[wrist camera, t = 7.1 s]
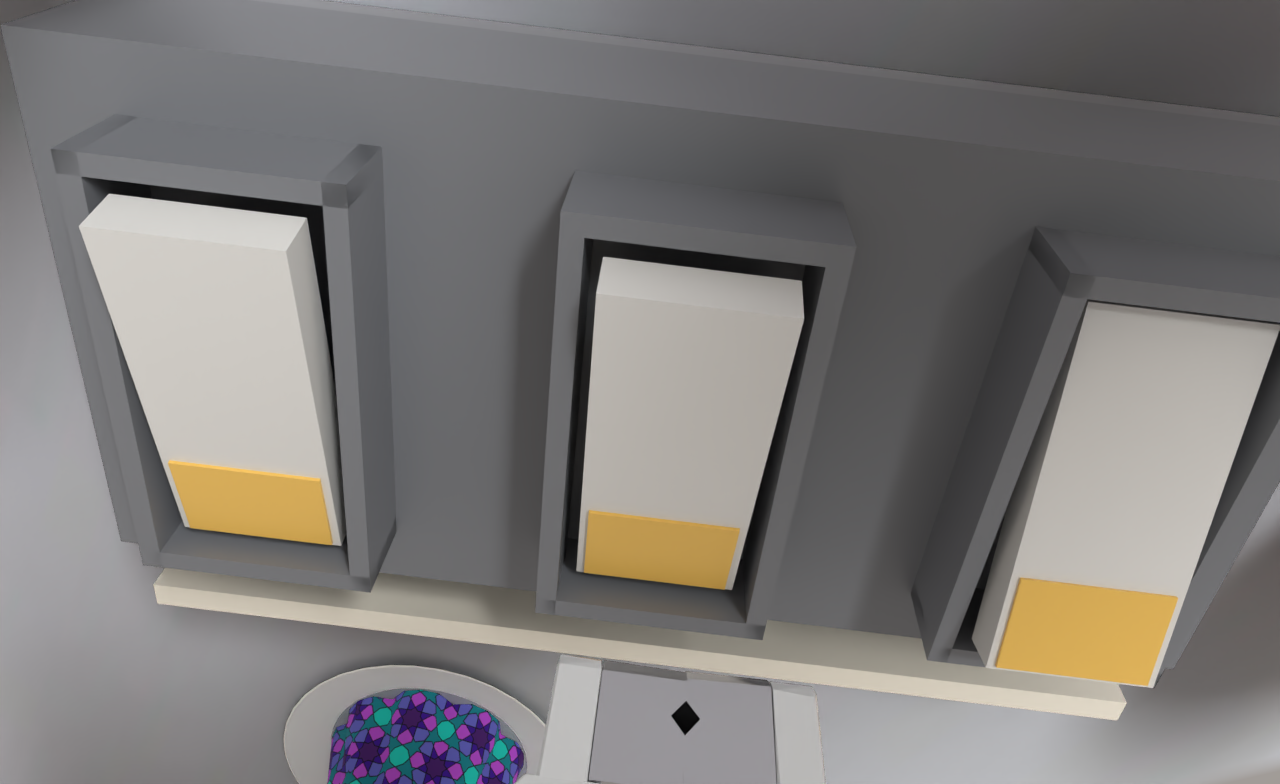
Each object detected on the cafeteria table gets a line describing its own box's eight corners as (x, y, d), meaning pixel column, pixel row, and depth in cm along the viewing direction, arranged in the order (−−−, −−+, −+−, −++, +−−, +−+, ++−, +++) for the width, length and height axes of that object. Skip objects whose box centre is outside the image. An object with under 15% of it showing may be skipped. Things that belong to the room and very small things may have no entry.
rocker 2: (602, 256, 19) (595, 296, 18) (801, 280, 19) (804, 321, 18) (582, 534, 26) (575, 573, 25) (732, 552, 26) (731, 593, 25)
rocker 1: (108, 193, 19) (76, 228, 18) (307, 217, 19) (284, 254, 18) (204, 491, 26) (183, 529, 25) (355, 510, 26) (340, 548, 25)
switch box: (106, -27, 25) (-135, 44, 18) (1329, 123, 25) (1574, 253, 18) (207, 555, 36) (81, 745, 29) (1070, 660, 36) (1160, 876, 29)
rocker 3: (1066, 288, 21) (1089, 302, 20) (1248, 310, 21) (1283, 326, 20) (971, 639, 24) (987, 670, 23) (1130, 658, 24) (1155, 690, 23)
